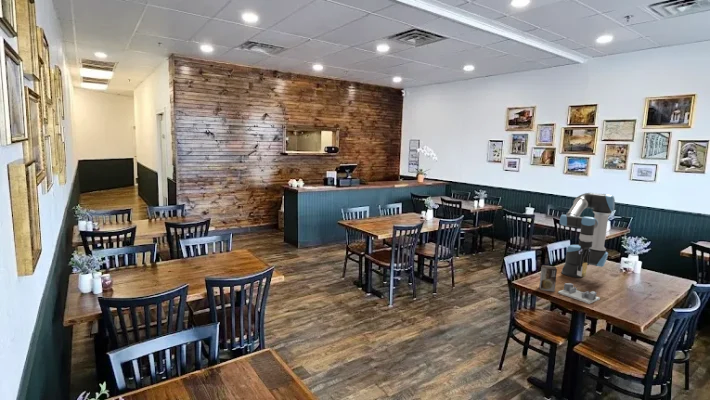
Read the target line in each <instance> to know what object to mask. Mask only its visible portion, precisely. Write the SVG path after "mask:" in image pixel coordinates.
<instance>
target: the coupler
mask: <svg viewBox="0 0 710 400" xmlns="http://www.w3.org/2000/svg"><path fill="white" fill-rule="evenodd" d="M587 264H588V263H587V262H584V261H583V264H582V266H583V269H582V276H581V277H580V278H585V277H587V270H588V265H587ZM578 276H579V275H578Z"/></svg>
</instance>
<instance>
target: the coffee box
mask: <svg viewBox="0 0 710 400" xmlns="http://www.w3.org/2000/svg"><path fill="white" fill-rule="evenodd" d="M557 270H558V269H557V267H556V266H554V265H545V264H542V265H541V269H540V278H539V279H540V280H539V290H541V291H548V292H556V283H557V273H558V271H557Z"/></svg>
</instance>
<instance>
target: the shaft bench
mask: <svg viewBox="0 0 710 400" xmlns="http://www.w3.org/2000/svg"><path fill="white" fill-rule="evenodd" d="M557 293H558V294H560V295H563V296H564V297H568V298H571V299H575V300H577V301H580V302H583V303H586V304H589V305H590V304H592V303H594V302H595V303H596V302H598V301H600V299H601V298H600V297H599V296H597V293H598V292H596V291H594V290H592V291H589V290H587V291H585V292H584V291H580V290H577V287H576V286H575V287H574V284H573V283H570V282H567V283H566V282H565V283H564V286H563V289H562V290H559V291H558V292H557Z"/></svg>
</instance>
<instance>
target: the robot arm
mask: <svg viewBox="0 0 710 400" xmlns="http://www.w3.org/2000/svg"><path fill="white" fill-rule="evenodd" d="M572 204H573V205H572V206H571V207H570V209H569V210H568V211H567V213H566V214H561V215H560V217H559V225H561V226H565V227H571V228H578V229H580V231H579V237H578V239H579V240H578V244H570V245H568V246H567V247H566V251H565V252H566V254H565V255H566V256H565V262H564V265H563V267H562V269H561V274H562V275H565V276H567V277H571V278H578V279H579V278H582V277H581V276H582V269H583V266H582V264H583V261H584V262H587V263H588V264H587V266H594V267H599V268H600V267H601V268H602V267H604V266H605V265H606V262H607V260H608V256H609V252H607V249H606V247H605V242H606V237H607V228H608V222H609V221H608V220H609V216H610V215H611V214H612V212H614V211H615V206H616V205H615V204H616V201H615V196H613V195H612V194H607V193H597V192H595V193H594V192H585V193H582V194H581V195H578V196H576V197H575V198H574V200H573V202H572ZM585 209H591V210H592V213H593V214H594V217H593V216H581V215H582V213H583V211H584V210H585ZM578 275H579V276H578Z"/></svg>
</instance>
